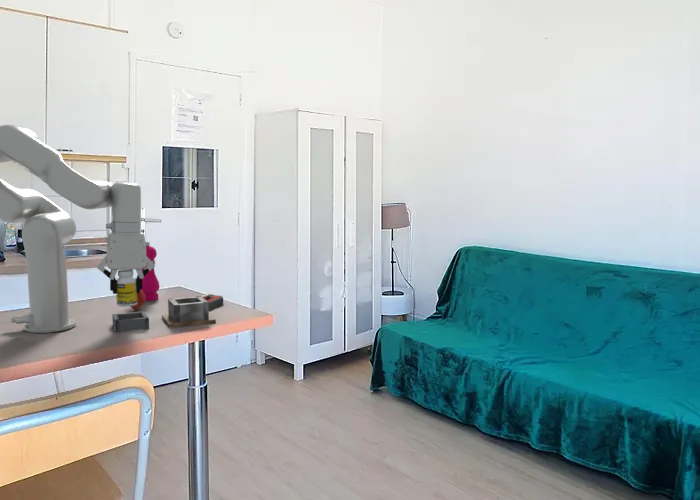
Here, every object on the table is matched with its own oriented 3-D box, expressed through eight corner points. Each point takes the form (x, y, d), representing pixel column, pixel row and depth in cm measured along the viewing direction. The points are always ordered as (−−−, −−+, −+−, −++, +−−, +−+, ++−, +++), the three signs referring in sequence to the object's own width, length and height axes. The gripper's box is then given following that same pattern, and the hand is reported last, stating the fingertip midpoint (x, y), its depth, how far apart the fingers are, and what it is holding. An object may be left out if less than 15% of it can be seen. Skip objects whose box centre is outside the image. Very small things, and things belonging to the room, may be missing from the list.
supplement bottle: (115, 307, 157) (112, 272, 156) (119, 302, 162) (117, 268, 161) (135, 306, 158) (133, 271, 157) (139, 302, 163) (137, 268, 162)
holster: (115, 332, 155) (115, 321, 155) (112, 324, 163) (112, 314, 162) (149, 328, 159) (148, 317, 159) (144, 321, 167) (144, 311, 166)
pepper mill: (164, 298, 197) (162, 241, 195) (147, 302, 191) (145, 243, 189) (150, 296, 201) (148, 239, 199) (133, 299, 195) (130, 241, 193)
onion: (122, 311, 179) (121, 286, 178) (134, 307, 184) (133, 283, 183) (138, 313, 177) (137, 287, 176) (149, 309, 182) (149, 284, 181)
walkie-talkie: (203, 302, 195) (168, 315, 176) (203, 289, 194) (167, 301, 176) (226, 304, 192) (192, 318, 173) (226, 291, 192) (192, 303, 173)
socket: (169, 327, 160) (168, 306, 159) (162, 318, 171) (161, 298, 170) (215, 322, 166) (215, 302, 165) (205, 314, 177) (205, 294, 176)
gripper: (93, 229, 150) (93, 297, 152) (161, 229, 158) (160, 293, 160) (91, 226, 157) (91, 291, 159) (156, 226, 165) (156, 288, 167)
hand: (126, 291), depth 160 cm, fingers closed on supplement bottle, 5 cm apart
